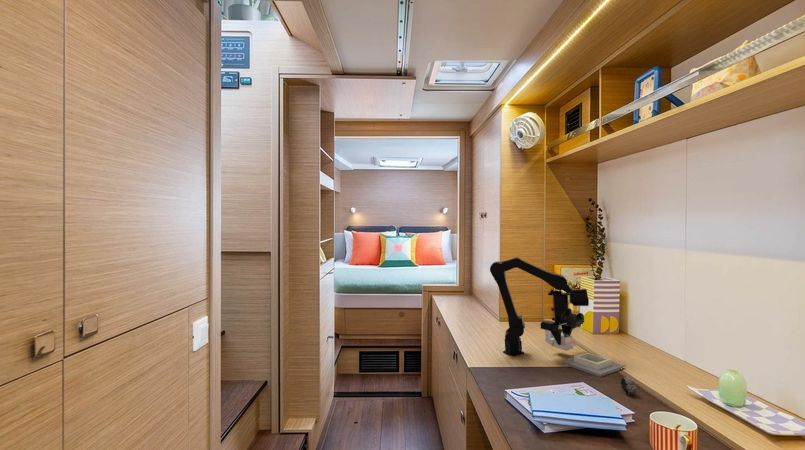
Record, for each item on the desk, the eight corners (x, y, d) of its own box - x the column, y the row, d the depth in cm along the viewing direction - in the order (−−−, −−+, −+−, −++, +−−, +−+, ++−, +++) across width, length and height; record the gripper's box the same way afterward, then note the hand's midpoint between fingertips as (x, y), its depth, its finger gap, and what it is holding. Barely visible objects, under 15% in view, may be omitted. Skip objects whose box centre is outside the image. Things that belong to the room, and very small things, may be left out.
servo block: (570, 351, 151) (569, 336, 151) (550, 345, 160) (549, 331, 160) (577, 349, 153) (576, 334, 153) (556, 343, 162) (556, 329, 162)
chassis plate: (600, 377, 133) (599, 368, 133) (562, 363, 147) (561, 355, 147) (625, 368, 139) (624, 360, 140) (586, 356, 154) (586, 348, 154)
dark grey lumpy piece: (623, 398, 120) (630, 390, 117) (618, 382, 124) (624, 374, 120) (633, 398, 120) (640, 391, 116) (627, 382, 124) (634, 375, 120)
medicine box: (561, 345, 169) (560, 325, 169) (551, 345, 169) (550, 326, 170) (555, 339, 177) (554, 321, 177) (545, 340, 177) (544, 321, 177)
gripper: (561, 312, 145) (563, 353, 145) (593, 305, 154) (595, 344, 153) (538, 307, 155) (540, 346, 155) (570, 301, 164) (572, 338, 163)
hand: (563, 343), depth 156 cm, fingers closed on servo block, 4 cm apart
